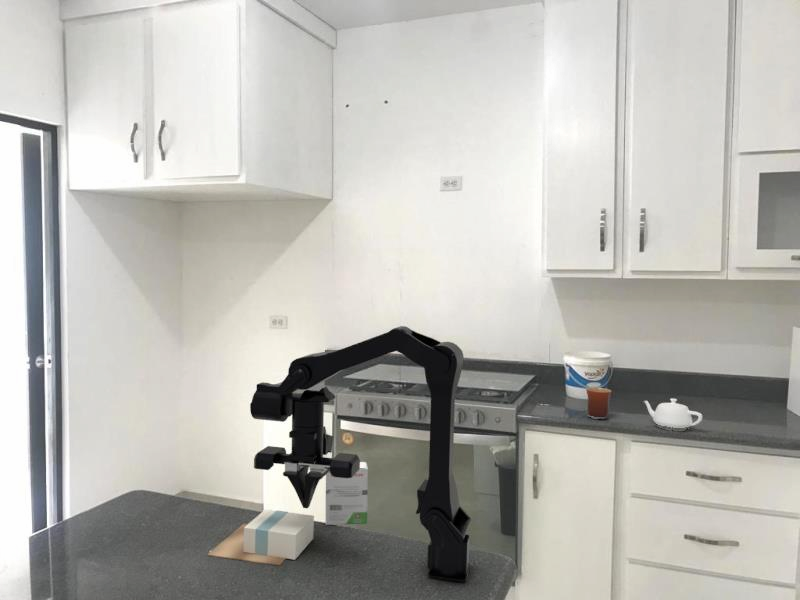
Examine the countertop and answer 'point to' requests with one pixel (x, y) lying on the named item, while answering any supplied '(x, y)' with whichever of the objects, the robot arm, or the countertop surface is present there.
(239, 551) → the board
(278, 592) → the countertop surface
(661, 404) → the teapot
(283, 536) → the carton
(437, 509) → the robot arm
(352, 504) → the ink box
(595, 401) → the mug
